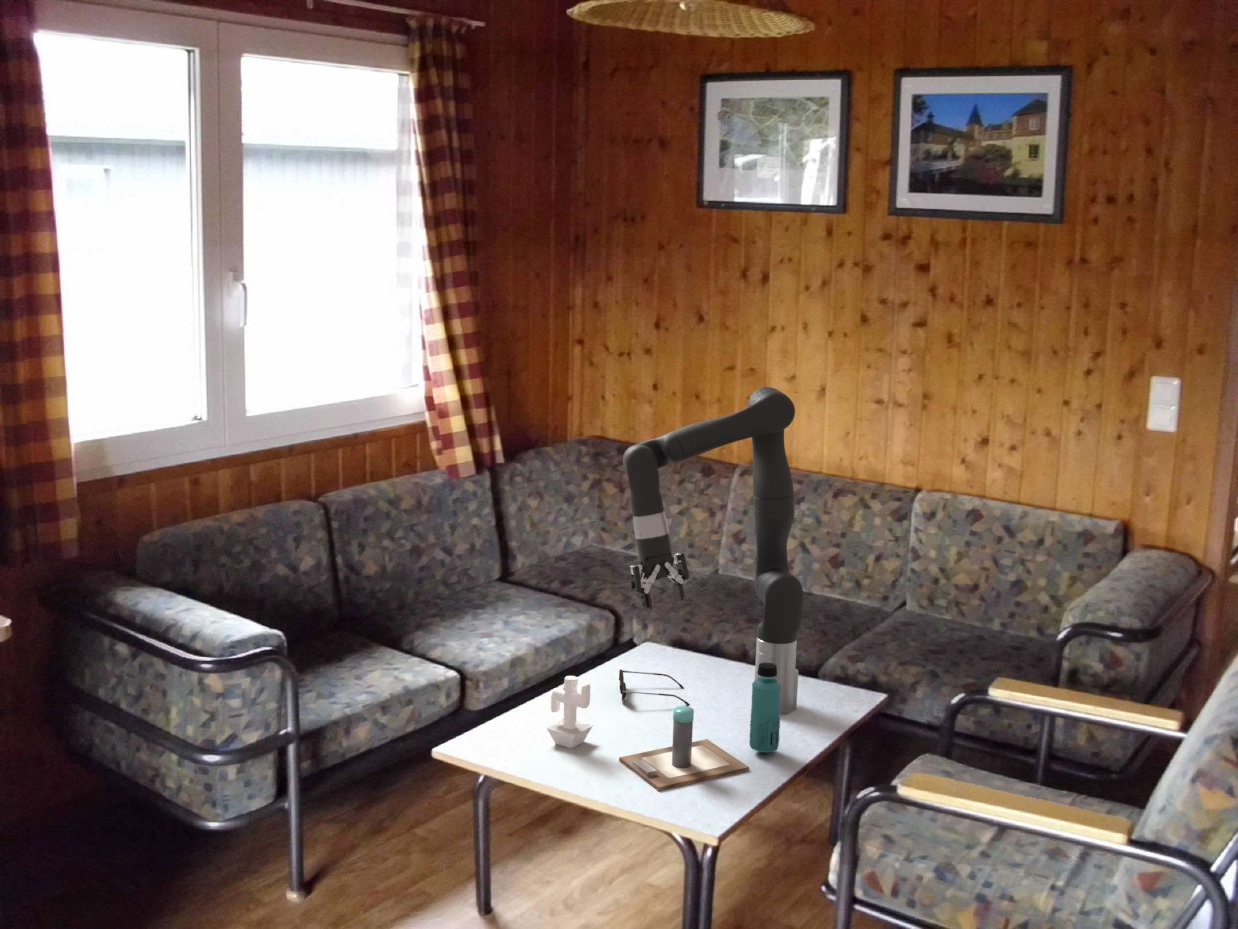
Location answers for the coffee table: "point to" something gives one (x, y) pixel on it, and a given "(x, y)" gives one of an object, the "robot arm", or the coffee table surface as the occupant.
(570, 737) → the figurine
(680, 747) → the grey capped container
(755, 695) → the beverage bottle
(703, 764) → the clipboard
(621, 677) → the sunglasses
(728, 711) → the coffee table surface
